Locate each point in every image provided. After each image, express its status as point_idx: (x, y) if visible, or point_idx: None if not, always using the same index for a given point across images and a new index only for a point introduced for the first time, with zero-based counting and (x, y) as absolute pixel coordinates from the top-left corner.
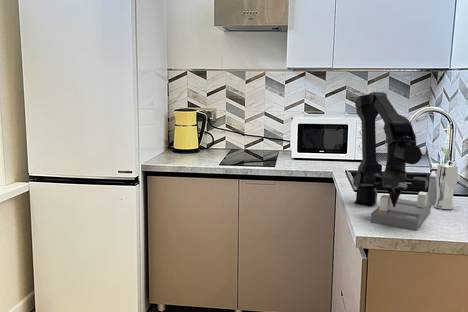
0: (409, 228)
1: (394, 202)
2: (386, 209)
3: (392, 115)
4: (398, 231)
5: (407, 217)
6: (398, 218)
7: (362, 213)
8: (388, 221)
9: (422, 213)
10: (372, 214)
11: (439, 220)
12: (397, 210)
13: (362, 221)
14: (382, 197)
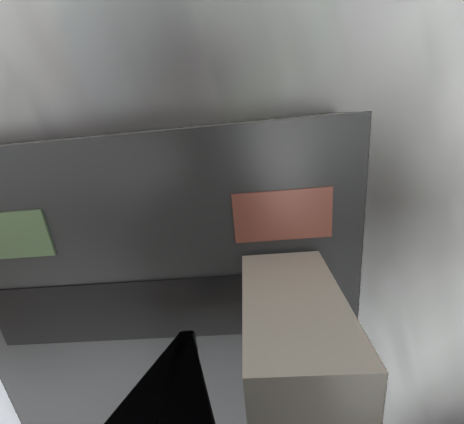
0: (30, 141)
1: (166, 370)
2: (247, 265)
3: None
4: (62, 15)
5: (23, 209)
6: (80, 140)
7: (443, 293)
8: (185, 127)
9: (10, 386)
10: (352, 113)
11: (14, 417)
12: None
13: (405, 88)
14: (345, 378)
